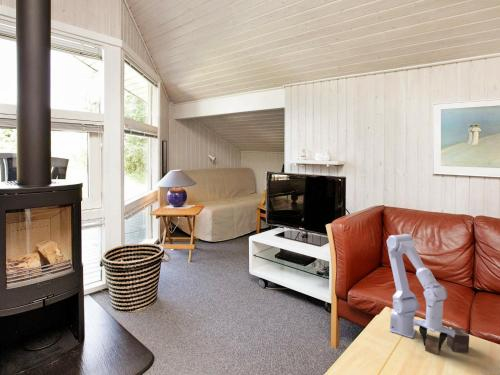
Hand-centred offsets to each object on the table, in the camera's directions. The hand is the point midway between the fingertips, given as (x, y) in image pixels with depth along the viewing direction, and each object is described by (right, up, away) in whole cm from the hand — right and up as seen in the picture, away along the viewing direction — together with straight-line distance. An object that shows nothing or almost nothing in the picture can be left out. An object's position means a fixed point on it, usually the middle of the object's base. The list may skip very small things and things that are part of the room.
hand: (432, 346), depth 128 cm
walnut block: (0, -1, 0) cm, 1 cm away
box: (+11, -2, +2) cm, 11 cm away
